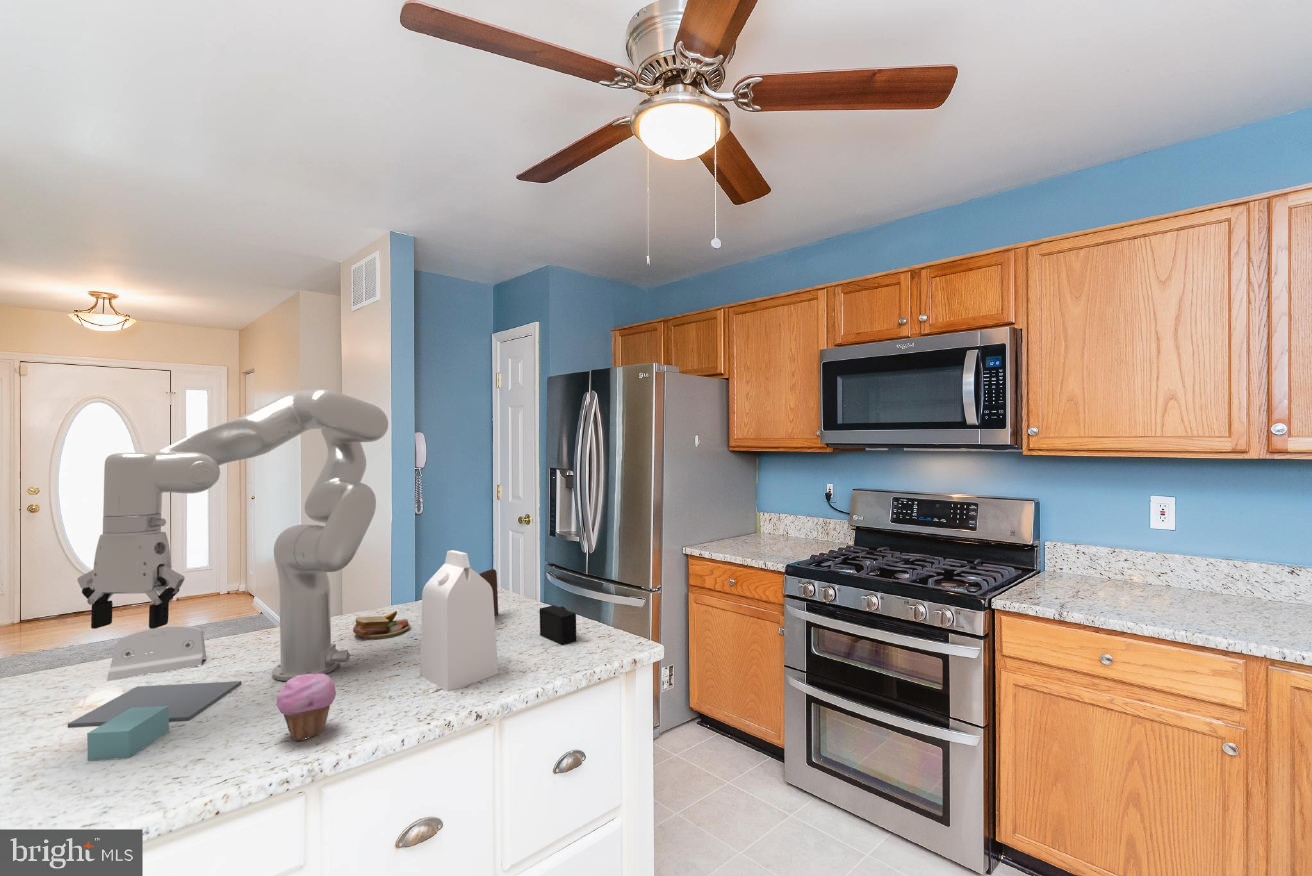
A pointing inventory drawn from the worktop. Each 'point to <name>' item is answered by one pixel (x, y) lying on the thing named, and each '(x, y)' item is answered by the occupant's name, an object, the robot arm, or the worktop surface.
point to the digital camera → (558, 624)
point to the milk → (457, 626)
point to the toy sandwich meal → (380, 626)
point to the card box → (127, 733)
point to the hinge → (157, 651)
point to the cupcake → (306, 704)
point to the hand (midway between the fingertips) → (130, 626)
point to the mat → (160, 701)
